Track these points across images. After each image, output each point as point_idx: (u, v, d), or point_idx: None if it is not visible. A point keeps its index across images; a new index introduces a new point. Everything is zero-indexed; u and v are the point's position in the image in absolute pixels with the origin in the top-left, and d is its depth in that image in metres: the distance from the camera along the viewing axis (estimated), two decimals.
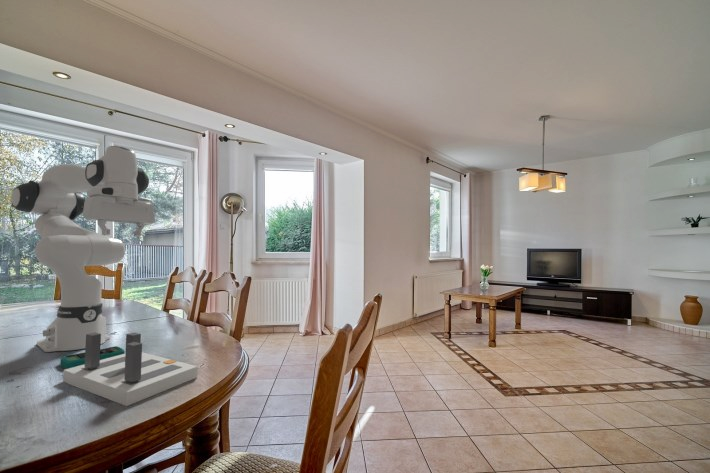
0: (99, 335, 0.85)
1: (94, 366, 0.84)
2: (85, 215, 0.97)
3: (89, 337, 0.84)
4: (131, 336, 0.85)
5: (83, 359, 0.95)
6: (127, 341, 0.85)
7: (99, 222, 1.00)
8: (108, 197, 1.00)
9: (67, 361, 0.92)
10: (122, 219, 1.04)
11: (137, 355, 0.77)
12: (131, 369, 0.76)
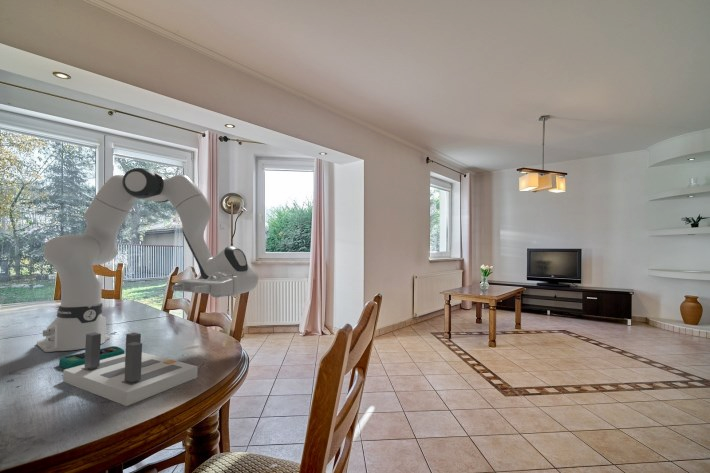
0: (99, 335, 0.85)
1: (94, 366, 0.84)
2: (221, 287, 1.00)
3: (89, 337, 0.84)
4: (131, 336, 0.85)
5: None
6: (127, 341, 0.85)
7: (208, 288, 1.00)
8: None
9: (69, 361, 0.92)
10: (199, 292, 1.03)
11: (137, 355, 0.77)
12: (131, 369, 0.76)
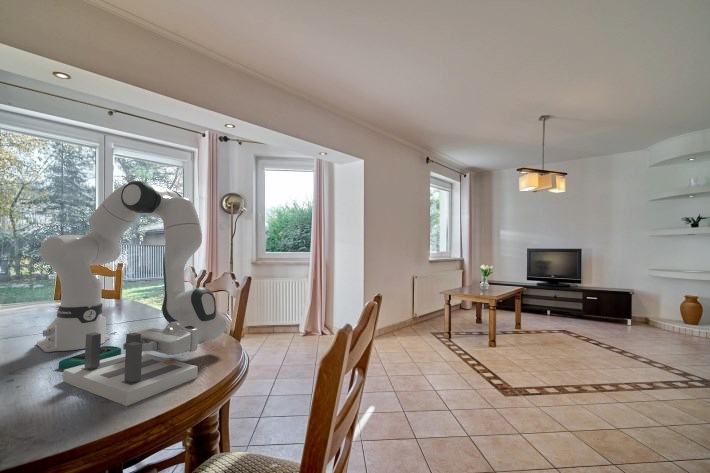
0: (99, 335, 0.85)
1: (94, 366, 0.84)
2: (174, 346, 0.86)
3: (89, 337, 0.84)
4: (131, 336, 0.85)
5: None
6: (127, 341, 0.86)
7: (153, 346, 0.87)
8: None
9: (78, 362, 0.92)
10: None
11: (137, 355, 0.77)
12: (131, 369, 0.76)
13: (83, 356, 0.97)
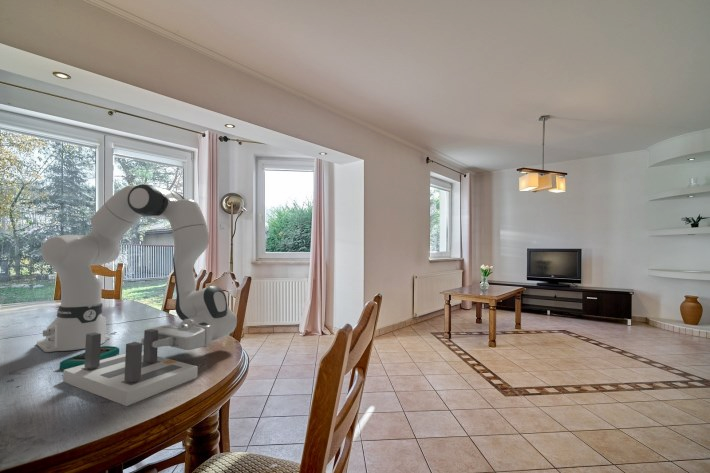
0: (99, 335, 0.85)
1: (94, 366, 0.84)
2: (190, 342, 0.90)
3: (89, 337, 0.84)
4: (149, 332, 0.89)
5: None
6: (145, 337, 0.90)
7: (170, 342, 0.91)
8: None
9: (81, 361, 0.92)
10: None
11: (137, 355, 0.77)
12: (131, 369, 0.76)
13: (83, 356, 0.97)
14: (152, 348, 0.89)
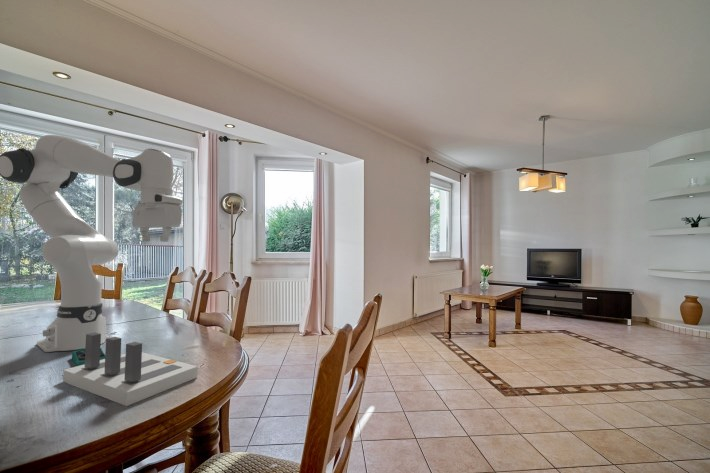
0: (99, 335, 0.85)
1: (94, 366, 0.84)
2: (174, 223, 1.00)
3: (89, 337, 0.84)
4: (111, 341, 0.81)
5: None
6: (107, 346, 0.81)
7: (168, 229, 1.02)
8: None
9: (104, 358, 0.95)
10: None
11: (137, 355, 0.77)
12: (131, 369, 0.76)
13: None
14: (114, 358, 0.81)
